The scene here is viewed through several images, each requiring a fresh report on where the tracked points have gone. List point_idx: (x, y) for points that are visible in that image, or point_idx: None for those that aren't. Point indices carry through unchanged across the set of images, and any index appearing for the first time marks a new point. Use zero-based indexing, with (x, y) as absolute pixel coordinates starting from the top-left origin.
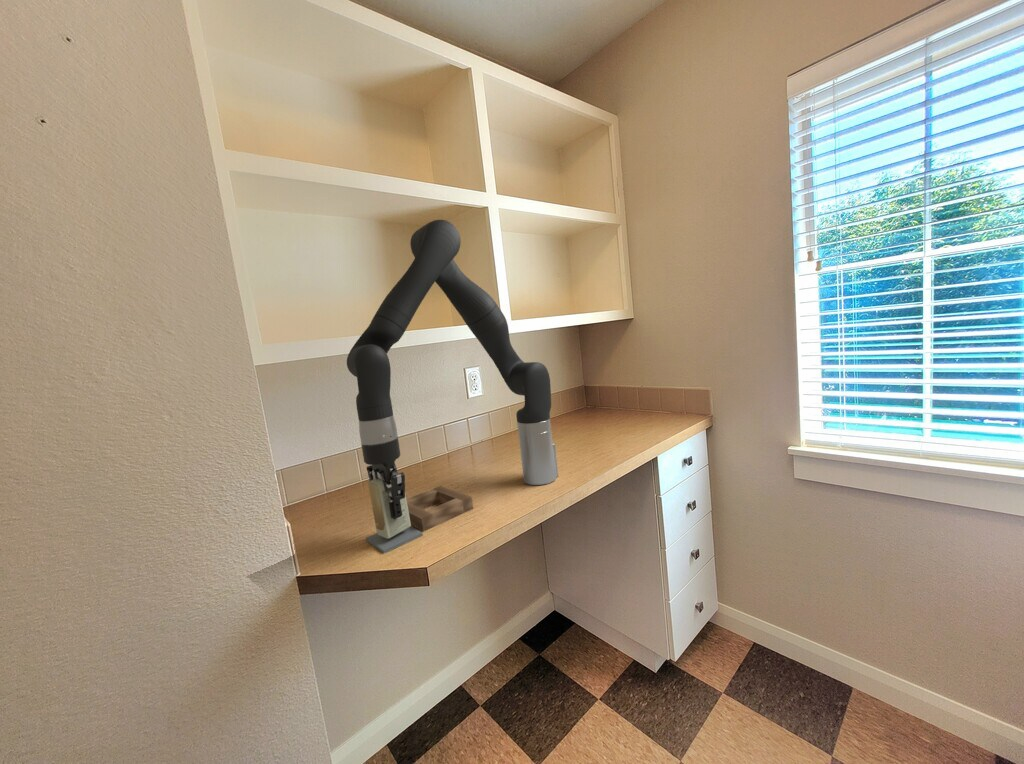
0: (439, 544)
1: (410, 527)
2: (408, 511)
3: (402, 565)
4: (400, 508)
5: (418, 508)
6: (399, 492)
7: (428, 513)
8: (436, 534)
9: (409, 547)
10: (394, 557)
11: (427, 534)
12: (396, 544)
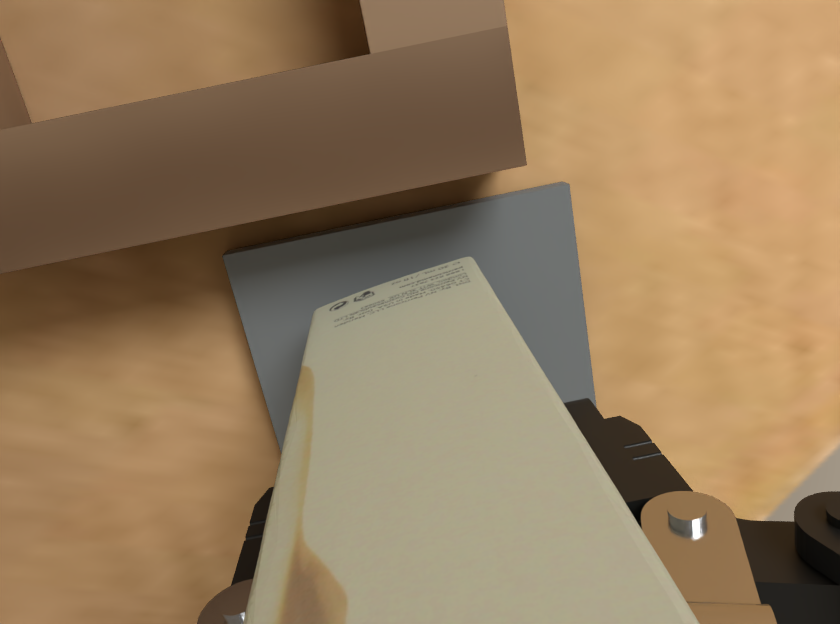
0: (805, 128)
1: (389, 235)
2: (498, 300)
3: (833, 416)
4: (660, 456)
5: (234, 99)
6: (750, 570)
7: (461, 57)
8: (637, 82)
9: (658, 321)
10: (701, 432)
11: (575, 144)
12: (589, 398)
